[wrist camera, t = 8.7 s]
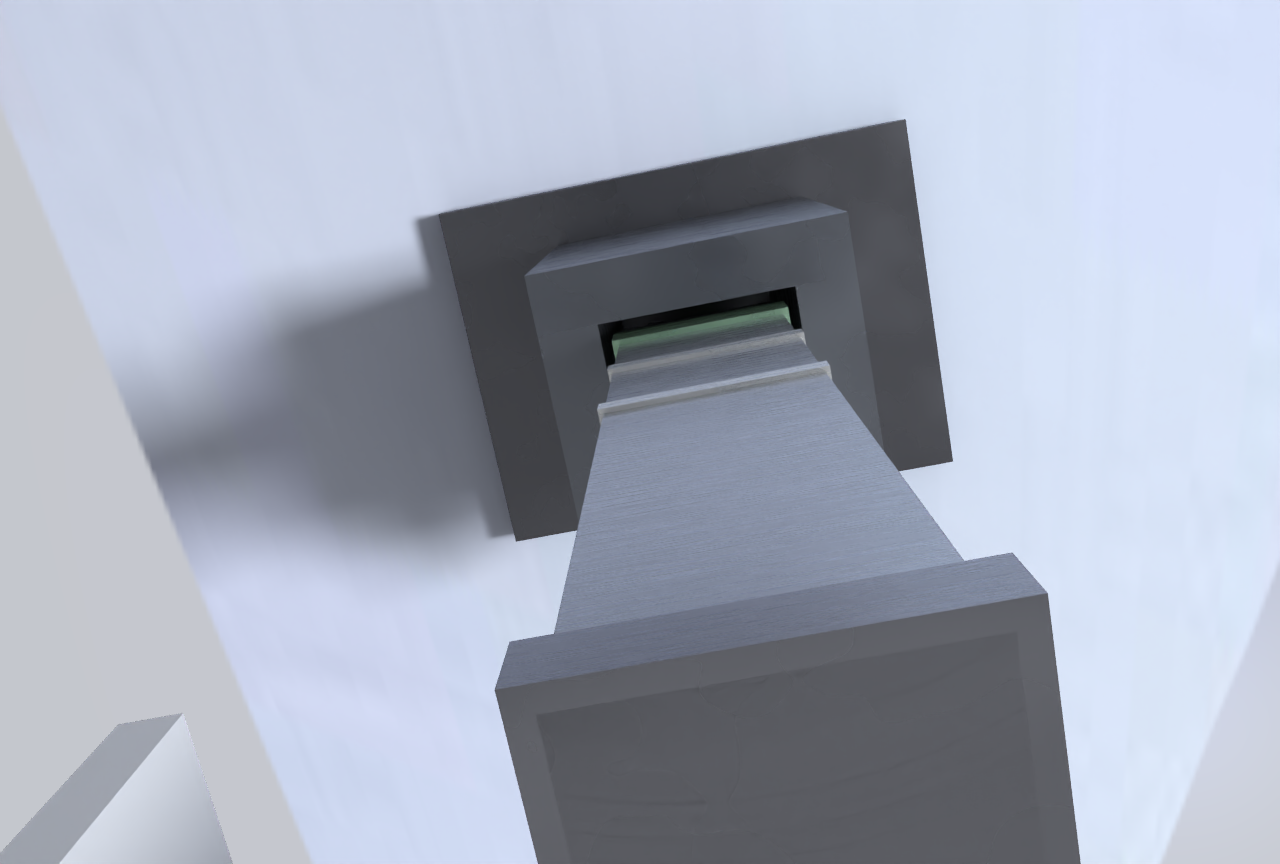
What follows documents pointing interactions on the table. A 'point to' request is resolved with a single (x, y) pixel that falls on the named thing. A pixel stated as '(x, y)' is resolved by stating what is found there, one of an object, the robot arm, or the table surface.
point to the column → (777, 638)
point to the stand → (697, 295)
